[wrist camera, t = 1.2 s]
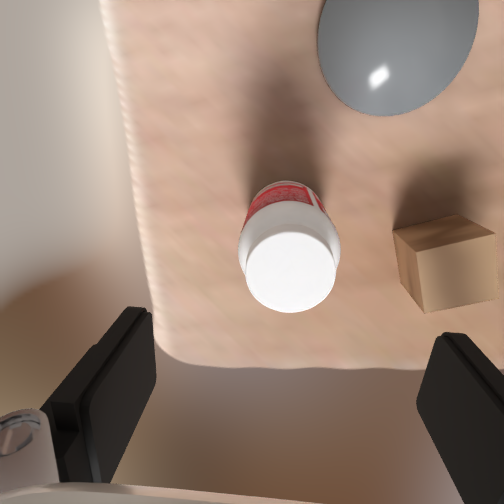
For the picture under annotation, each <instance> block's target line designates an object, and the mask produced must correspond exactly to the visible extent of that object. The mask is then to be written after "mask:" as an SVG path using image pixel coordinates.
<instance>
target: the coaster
mask: <svg viewBox="0 0 504 504" xmlns="http://www.w3.org/2000/svg"><path fill="white" fill-rule="evenodd" d="M478 15H479V2H478V0H326V3H325V5H324V8H323V11H322V14H321V18H320V22H319V28H318V38H317V48H318V58H319V63H320V67H321V70H322V73H323V76H324V78H325V80H326V82H327V84H328V86H329V87H330V89H331V91H332V92H333V93H334V94H335V95H336V97H337V98H338V99H339V100H340V101H342V102H343V103H344V104H345V105H347V106H348V107H350V108H351V109H353V110H355V111H358V112H360V113H363V114H367V115H372V116H393V115H400V114H403V113H407V112H410V111H412V110H415V109H417V108H419V107H421V106H423V105H425V104H426V103H428V102H429V101H431V100H432V99H434V98H435V97H436V96H438V95H439V94H440V93H441V92H442V91H443V90H444V89H445V88H446V87H447V86H448V85H449V84H450V83H451V82H452V80H453V79H454V78H455V77H456V75H457V74H458V72H459V71H460V70H461V68H462V66H463V64H464V63H465V61H466V59H467V57H468V55H469V52H470V50H471V48H472V45H473V42H474V38H475V35H476V30H477V25H478Z"/></svg>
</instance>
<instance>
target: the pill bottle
mask: <svg viewBox="0 0 504 504" xmlns="http://www.w3.org/2000/svg"><path fill="white" fill-rule="evenodd" d="M340 252H341V249H340V240H339V236H338V233H337V231H336V228H335V226H334V224H333V223H332V221H331V219H330V218H329V216H328V214H327V212H326V210H325V209H324V207H323V205H322V203H321V201H320V199H319V198H318V196H317V195H316V194H315V193H314V192H313V191H312V190H311V189H310V188H308V187H307V186H305V185H303V184H301V183H298V182H294V181H279V182H275V183H272V184H270V185H268V186H266V187H264V188H263V189H262V190H261V191H260V192H258V194H257V195H256V196H255V197H254V199H253V201H252V203H251V205H250V207H249V210H248V213H247V216H246V219H245V222H244V225H243V229H242V231H241V235H240V238H239V244H238V256H239V261H240V265H241V268H242V270H243V272H244V274H245V277H246V282H247V285H248V287H249V289H250V291H251V293H252V294H253V296H254V297H255V298H256V299H257V300H258V301H259V302H260V303H262V304H263V305H265V306H267V307H268V308H270V309H273V310H276V311H280V312H300V311H304V310H307V309H310V308H312V307H314V306H316V305H317V304H319V303H320V302H321V301H322V300H324V299H325V297H326V296H327V295H328V294H329V292H330V291H331V289H332V287H333V285H334V281H335V277H336V268H337V266H338V263H339V259H340Z"/></svg>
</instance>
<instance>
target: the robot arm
mask: <svg viewBox="0 0 504 504" xmlns="http://www.w3.org/2000/svg"><path fill="white" fill-rule="evenodd" d="M155 383H156V363H155V350H154V336H153V323H152V314H151V313H150V312H147V310H146V308H142V307H127V308H126V309H125V310H124V311H123V312H122V313H121V315H120V316H119V317H118V319H117V320H116V321H115V322H114V323H113V325H112V326H111V327H110V328H109V329H108V331H107V332H106V333H105V334H104V336H103V337H102V338H101V339H100V341H99V342H98V343H97V344H95V345H93V346H92V347H91V348H90V349H89V350H88V351H87V352H86V354H85V355H84V356H83V357H82V359H81V360H80V361H79V362H78V363H77V364H76V366H75V367H74V368H73V370H72V371H71V372H70V373H69V374H68V376H67V377H66V378H65V379H64V380H63V381H62V383H61V384H60V385H59V386H58V388H57V389H56V390H55V391H54V392H53V394H52V395H51V396H50V397H49V398H48V399H47V401H46V402H45V403H44V404H43V406H42V407H41V408H40V409H39V410H37V409H32V408H31V409H21V410H17V411H14V412H11V413H8V414H6V415H4V416H2V417H0V504H320V503H310V502H301V501H291V500H282V499H272V498H263V497H253V496H242V495H232V494H222V493H212V492H202V491H192V490H182V489H171V488H160V487H148V486H135V485H134V486H133V485H122V484H110V482H111V480H112V478H113V475H114V473H115V471H116V469H117V467H118V464H119V462H120V460H121V458H122V456H123V454H124V452H125V449H126V447H127V445H128V443H129V441H130V439H131V436H132V434H133V432H134V430H135V428H136V426H137V423H138V421H139V419H140V417H141V415H142V413H143V410H144V408H145V406H146V404H147V402H148V400H149V397H150V395H151V393H152V391H153V389H154V386H155ZM416 402H417V403H416V404H417V410H418V412H419V414H420V416H421V418H422V420H423V422H424V424H425V426H426V428H427V430H428V432H429V434H430V436H431V438H432V440H433V442H434V444H435V446H436V448H437V450H438V452H439V454H440V456H441V458H442V460H443V462H444V464H445V466H446V468H447V470H448V472H449V474H450V476H451V478H452V480H453V482H454V484H455V486H456V488H457V490H458V492H459V494H460V496H461V498H462V500H463V502H464V504H504V375H503V374H502V373H501V372H500V371H499V370H498V369H497V368H496V367H495V365H494V364H493V363H492V362H491V361H490V360H489V359H488V358H487V357H486V356H485V355H484V353H483V352H482V351H481V350H480V349H479V348H478V347H477V346H476V345H475V344H474V343H473V341H472V340H471V339H470V338H469V337H468V336H467V335H466V334H463V333H451V332H444V333H443V334H442V335H441V336H438V337H437V338H436V340H435V343H434V346H433V349H432V352H431V355H430V359H429V362H428V365H427V368H426V371H425V375H424V378H423V381H422V384H421V387H420V390H419V393H418V396H417V400H416Z"/></svg>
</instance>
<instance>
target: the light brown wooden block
mask: <svg viewBox="0 0 504 504" xmlns="http://www.w3.org/2000/svg"><path fill="white" fill-rule="evenodd" d="M392 231H393V238H394V244H395V250H396V256H397V262H398V269H399V275H400V281H401V284H402V285H403V286H404V288H405V289H406V290H407V292H408V293H409V294H410V296H411V297H412V298H413V299H414V301H415V302H416V303H417V305H418V306H419V307H420V308H421V310H422V311H423V312H424V314H426V313H431V312H435V311H440V310H445V309H450V308H455V307H460V306H465V305H470V304H475V303H480V302H485V301H490V300H495V299H499V288H498V266H497V244H496V233H494V232H492V231H490V230H488V229H486V228H484V227H482V226H480V225H478V224H476V223H474V222H472V221H470V220H468V219H466V218H464V217H462V216H460V215H458V214H456V215H452V216H448V217H444V218H440V219H436V220H432V221H428V222H424V223H420V224H416V225H412V226H408V227H404V228H400V229H396V230H392Z"/></svg>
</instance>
